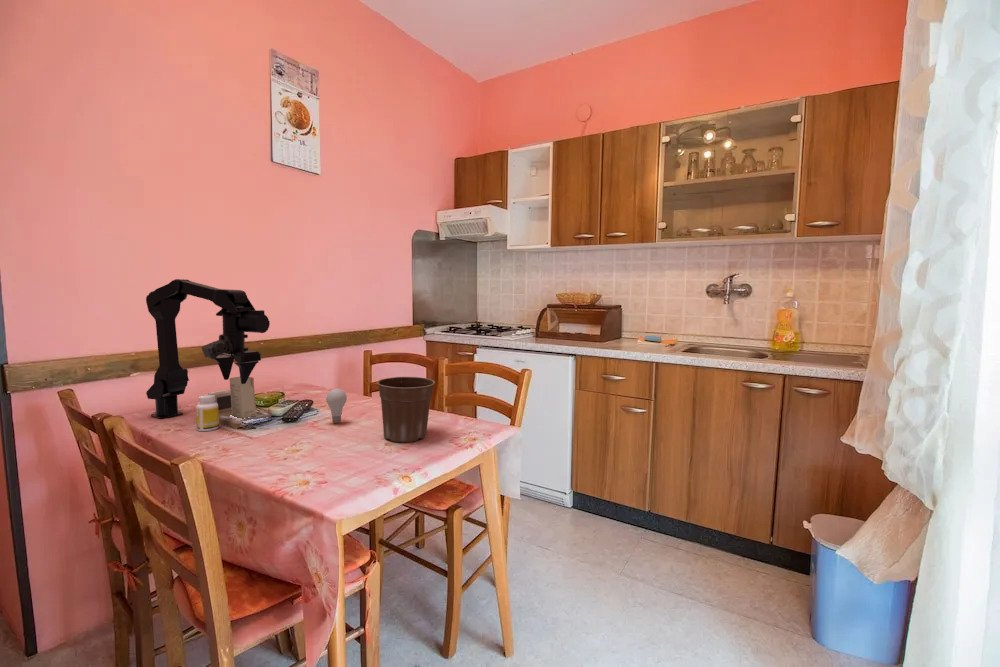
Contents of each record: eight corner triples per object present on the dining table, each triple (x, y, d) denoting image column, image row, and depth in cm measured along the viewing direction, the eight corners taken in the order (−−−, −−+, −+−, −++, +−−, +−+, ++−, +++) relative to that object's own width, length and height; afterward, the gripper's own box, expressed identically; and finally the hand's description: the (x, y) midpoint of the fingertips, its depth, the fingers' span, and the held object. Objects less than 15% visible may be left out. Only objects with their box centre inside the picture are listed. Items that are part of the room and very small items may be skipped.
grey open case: (196, 416, 143) (195, 393, 142) (231, 409, 152) (231, 387, 152) (236, 429, 131) (235, 404, 131) (271, 420, 141) (271, 397, 140)
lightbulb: (338, 427, 136) (338, 391, 135) (321, 424, 138) (321, 389, 137) (351, 421, 142) (350, 387, 141) (335, 419, 144) (334, 385, 143)
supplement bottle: (223, 426, 133) (222, 394, 132) (209, 432, 128) (208, 398, 127) (206, 425, 134) (205, 393, 133) (192, 431, 129) (191, 397, 128)
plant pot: (429, 426, 140) (429, 375, 138) (439, 443, 124) (439, 386, 123) (375, 429, 134) (375, 377, 133) (378, 448, 119) (378, 388, 118)
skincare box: (256, 416, 139) (254, 377, 138) (242, 419, 135) (240, 379, 134) (245, 413, 142) (243, 375, 141) (231, 416, 138) (228, 377, 137)
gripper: (188, 330, 133) (190, 381, 135) (223, 335, 124) (224, 390, 126) (226, 328, 143) (227, 376, 144) (262, 333, 134) (262, 384, 135)
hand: (234, 381), depth 137 cm, fingers open, 9 cm apart
